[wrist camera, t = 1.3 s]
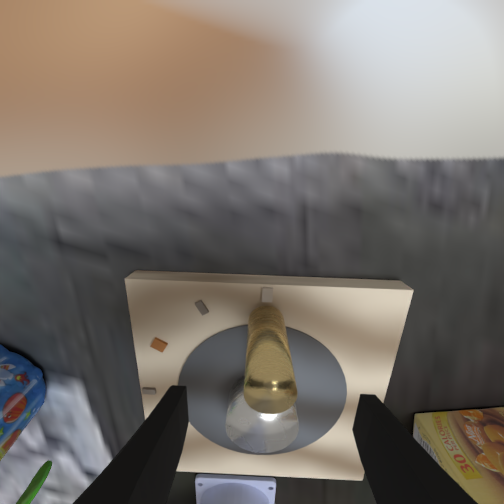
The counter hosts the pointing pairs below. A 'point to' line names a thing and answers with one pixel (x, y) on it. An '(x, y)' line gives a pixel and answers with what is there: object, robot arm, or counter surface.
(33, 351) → the counter surface
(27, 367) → the snack cup
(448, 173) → the counter surface
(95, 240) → the counter surface
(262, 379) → the gold and silver piece
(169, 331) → the dial housing
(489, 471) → the candy box
